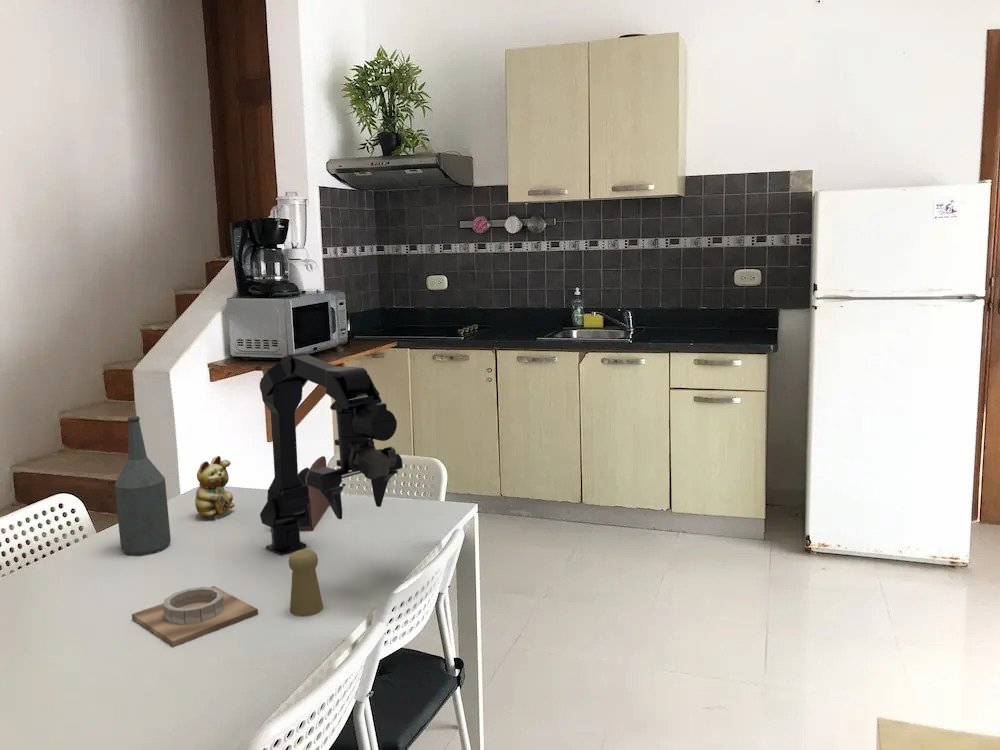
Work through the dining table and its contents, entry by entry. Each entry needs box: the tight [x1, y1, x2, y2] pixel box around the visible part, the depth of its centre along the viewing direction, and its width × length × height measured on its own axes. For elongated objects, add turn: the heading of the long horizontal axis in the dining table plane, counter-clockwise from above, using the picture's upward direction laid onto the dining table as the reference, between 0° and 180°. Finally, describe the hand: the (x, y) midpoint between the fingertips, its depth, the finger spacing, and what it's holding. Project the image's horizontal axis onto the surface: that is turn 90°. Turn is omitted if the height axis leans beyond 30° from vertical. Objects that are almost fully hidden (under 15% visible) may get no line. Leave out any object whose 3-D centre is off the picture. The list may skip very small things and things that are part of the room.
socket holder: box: [131, 585, 259, 647], centre depth 152 cm, size 16×16×4 cm
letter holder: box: [298, 455, 330, 532], centre depth 204 cm, size 10×20×14 cm, turn 0°
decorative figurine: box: [194, 455, 235, 520], centre depth 208 cm, size 10×8×15 cm
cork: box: [288, 549, 324, 617], centre depth 153 cm, size 6×6×11 cm
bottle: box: [114, 415, 172, 556], centre depth 185 cm, size 10×10×30 cm
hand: (359, 512), depth 163 cm, fingers open, 9 cm apart
